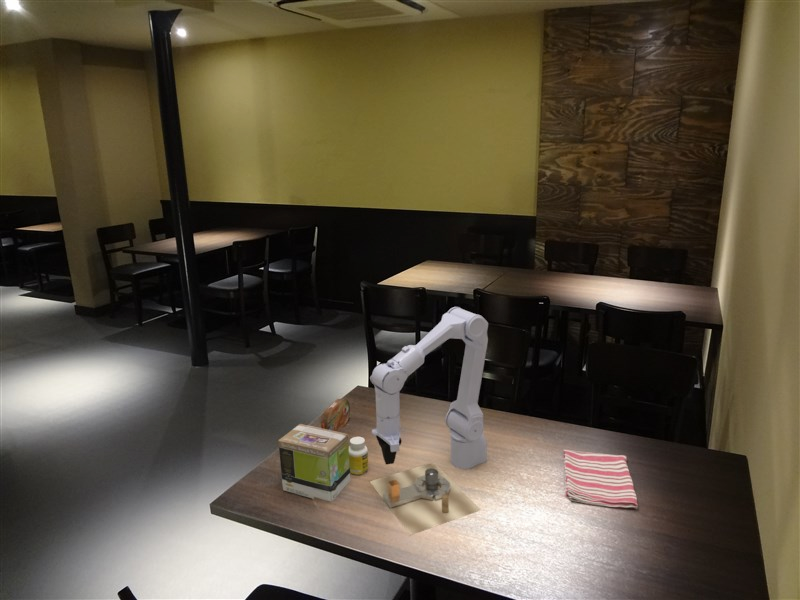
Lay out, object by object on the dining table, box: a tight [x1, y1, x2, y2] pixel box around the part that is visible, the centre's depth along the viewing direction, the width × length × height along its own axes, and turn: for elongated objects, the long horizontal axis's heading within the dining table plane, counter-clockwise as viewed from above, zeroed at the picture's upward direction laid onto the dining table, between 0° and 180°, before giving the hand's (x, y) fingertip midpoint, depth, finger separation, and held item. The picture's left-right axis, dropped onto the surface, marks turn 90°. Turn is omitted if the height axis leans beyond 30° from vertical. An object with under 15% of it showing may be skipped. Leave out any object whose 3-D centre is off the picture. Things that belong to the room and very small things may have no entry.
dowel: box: [442, 495, 449, 513], centre depth 132 cm, size 2×2×4 cm
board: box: [369, 462, 482, 536], centre depth 138 cm, size 19×23×1 cm
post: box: [425, 468, 438, 491], centre depth 140 cm, size 3×3×5 cm
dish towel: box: [562, 448, 639, 510], centre depth 145 cm, size 17×23×4 cm
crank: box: [382, 475, 450, 509], centre depth 138 cm, size 17×9×5 cm, turn 116°
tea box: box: [277, 423, 351, 502], centre depth 142 cm, size 15×10×15 cm, turn 65°
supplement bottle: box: [349, 436, 369, 476], centre depth 149 cm, size 5×5×10 cm
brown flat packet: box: [320, 398, 351, 432], centre depth 172 cm, size 15×3×8 cm, turn 159°
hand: (389, 462), depth 138 cm, fingers closed
